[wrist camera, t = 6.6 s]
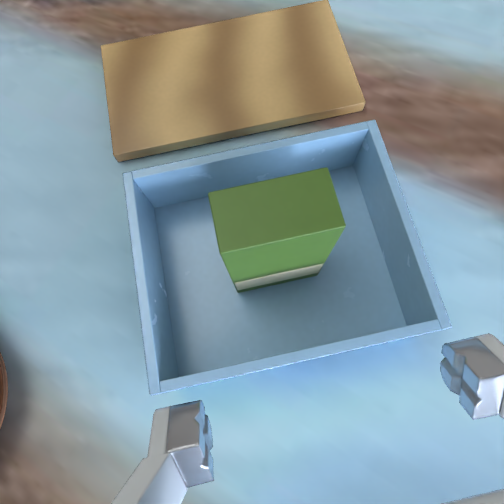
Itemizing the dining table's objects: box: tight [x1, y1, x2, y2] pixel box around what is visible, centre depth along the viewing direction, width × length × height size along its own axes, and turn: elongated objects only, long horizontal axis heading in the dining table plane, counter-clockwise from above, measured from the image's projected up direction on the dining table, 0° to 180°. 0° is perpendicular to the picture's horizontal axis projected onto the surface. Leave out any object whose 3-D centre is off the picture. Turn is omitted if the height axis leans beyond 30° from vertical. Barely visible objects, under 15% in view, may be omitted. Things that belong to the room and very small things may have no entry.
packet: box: [208, 167, 346, 293], centre depth 20 cm, size 6×3×10 cm, turn 102°
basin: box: [123, 120, 452, 395], centre depth 23 cm, size 16×13×5 cm
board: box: [101, 0, 365, 162], centre depth 30 cm, size 20×11×1 cm, turn 102°
